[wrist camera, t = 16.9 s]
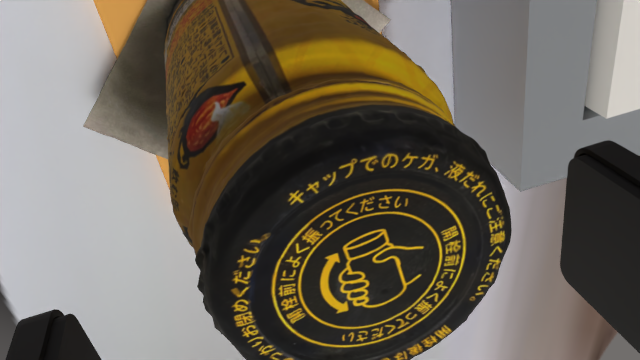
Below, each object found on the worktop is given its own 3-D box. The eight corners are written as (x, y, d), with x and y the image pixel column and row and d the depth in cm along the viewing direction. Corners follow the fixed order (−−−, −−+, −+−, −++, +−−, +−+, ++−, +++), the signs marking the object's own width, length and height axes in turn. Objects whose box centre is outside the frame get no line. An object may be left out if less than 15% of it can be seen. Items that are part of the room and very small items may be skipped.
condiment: (388, 17, 19) (640, 197, 9) (264, 199, 21) (353, 495, 12) (204, -114, 15) (281, -58, 5) (83, 122, 18) (-12, 447, 8)
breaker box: (659, 72, 24) (773, 121, 20) (455, 130, 23) (526, 197, 18) (712, -195, 18) (887, -211, 14) (446, -136, 17) (545, -133, 13)
